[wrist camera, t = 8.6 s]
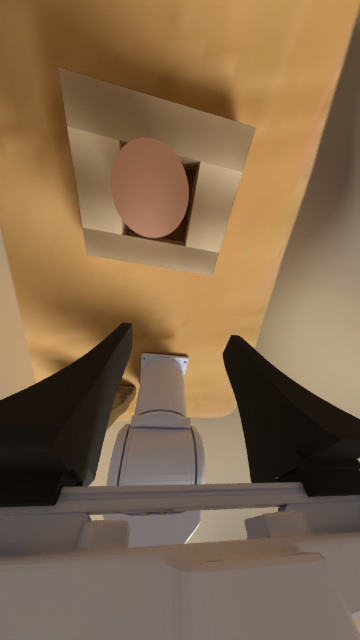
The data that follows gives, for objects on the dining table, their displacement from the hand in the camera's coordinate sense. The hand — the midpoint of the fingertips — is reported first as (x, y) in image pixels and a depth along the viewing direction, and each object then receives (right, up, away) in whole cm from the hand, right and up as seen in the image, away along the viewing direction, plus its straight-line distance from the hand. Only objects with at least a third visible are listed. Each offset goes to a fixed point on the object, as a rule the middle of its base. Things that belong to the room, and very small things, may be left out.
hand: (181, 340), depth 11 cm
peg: (-2, +12, +3) cm, 13 cm away
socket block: (-2, +12, +3) cm, 13 cm away
